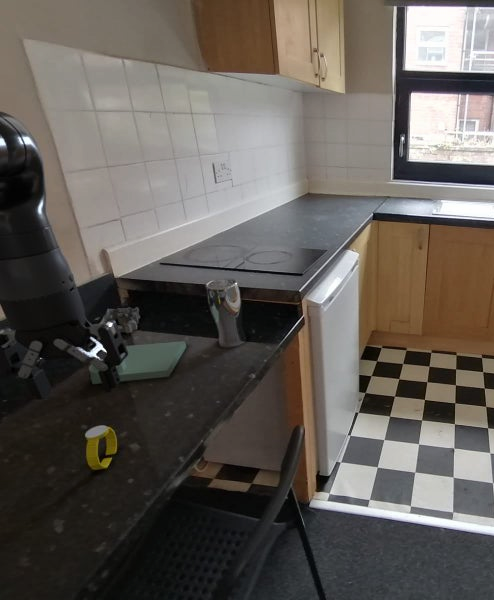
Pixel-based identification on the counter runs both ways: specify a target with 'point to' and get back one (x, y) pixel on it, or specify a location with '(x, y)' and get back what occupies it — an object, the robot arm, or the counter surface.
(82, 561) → the counter surface
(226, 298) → the beer glass
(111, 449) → the watch
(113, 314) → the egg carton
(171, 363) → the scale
